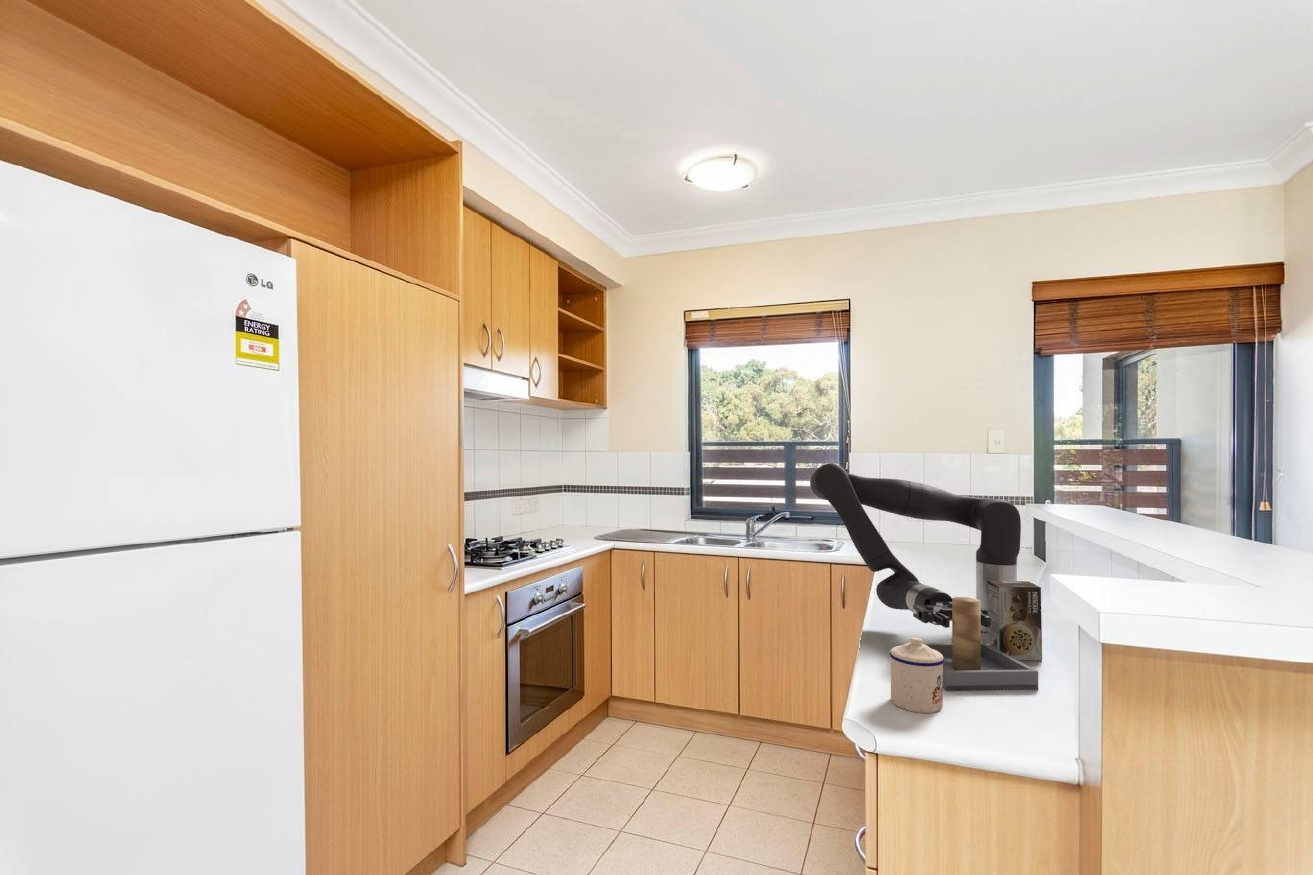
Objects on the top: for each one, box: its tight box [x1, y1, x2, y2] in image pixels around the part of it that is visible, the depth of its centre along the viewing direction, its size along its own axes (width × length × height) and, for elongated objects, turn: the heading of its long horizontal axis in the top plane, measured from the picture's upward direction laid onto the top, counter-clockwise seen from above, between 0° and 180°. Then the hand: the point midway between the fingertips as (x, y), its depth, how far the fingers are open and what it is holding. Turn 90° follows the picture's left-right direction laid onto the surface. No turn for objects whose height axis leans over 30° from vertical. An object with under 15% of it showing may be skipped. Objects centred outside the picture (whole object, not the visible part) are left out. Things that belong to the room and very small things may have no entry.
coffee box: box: [987, 580, 1043, 662], centre depth 144 cm, size 9×6×16 cm
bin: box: [924, 642, 1039, 692], centre depth 132 cm, size 18×18×4 cm
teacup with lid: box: [889, 636, 944, 714], centre depth 117 cm, size 12×9×12 cm
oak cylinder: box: [951, 596, 982, 670], centre depth 132 cm, size 5×5×14 cm
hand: (968, 622), depth 132 cm, fingers open, 8 cm apart
